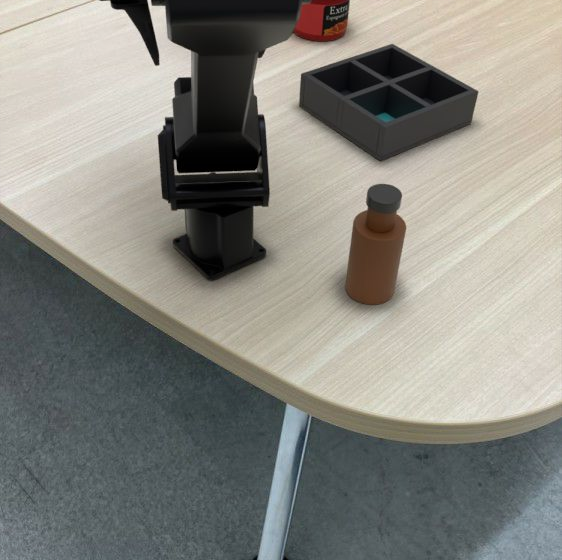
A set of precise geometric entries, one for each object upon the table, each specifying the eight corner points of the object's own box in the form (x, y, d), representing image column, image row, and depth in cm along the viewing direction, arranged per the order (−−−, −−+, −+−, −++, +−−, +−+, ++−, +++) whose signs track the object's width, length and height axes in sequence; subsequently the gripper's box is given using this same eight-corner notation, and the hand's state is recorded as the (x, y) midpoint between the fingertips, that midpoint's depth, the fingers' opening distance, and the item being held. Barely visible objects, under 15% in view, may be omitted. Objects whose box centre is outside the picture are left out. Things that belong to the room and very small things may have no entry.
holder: (471, 123, 91) (478, 91, 88) (380, 161, 85) (385, 127, 82) (387, 75, 98) (392, 43, 95) (298, 106, 92) (300, 73, 89)
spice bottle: (404, 292, 70) (423, 197, 63) (367, 311, 68) (383, 216, 61) (371, 266, 72) (386, 172, 65) (335, 284, 70) (346, 189, 63)
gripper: (299, -179, 65) (289, 8, 77) (68, -174, 61) (95, 20, 74) (335, -125, 58) (317, 70, 70) (77, -116, 55) (105, 86, 67)
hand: (208, 59), depth 70 cm, fingers open, 9 cm apart
